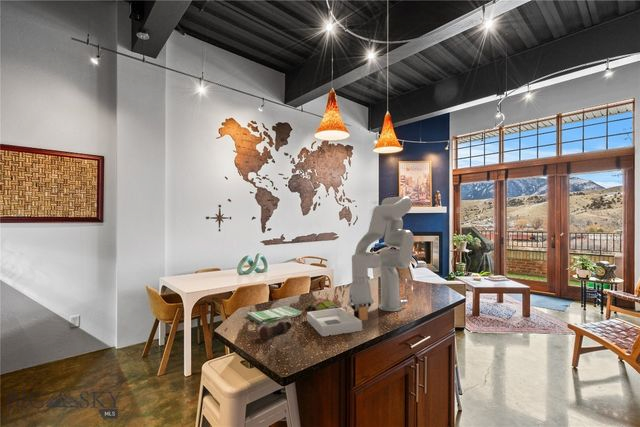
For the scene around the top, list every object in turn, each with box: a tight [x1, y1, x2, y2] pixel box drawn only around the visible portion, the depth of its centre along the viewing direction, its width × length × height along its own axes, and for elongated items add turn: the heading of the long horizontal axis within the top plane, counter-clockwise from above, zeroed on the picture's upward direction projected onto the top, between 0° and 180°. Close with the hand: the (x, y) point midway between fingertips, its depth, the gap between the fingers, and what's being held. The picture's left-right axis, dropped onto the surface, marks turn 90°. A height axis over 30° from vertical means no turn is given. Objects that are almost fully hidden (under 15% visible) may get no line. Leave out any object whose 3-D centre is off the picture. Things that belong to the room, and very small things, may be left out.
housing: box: [306, 307, 363, 338], centre depth 134 cm, size 18×22×4 cm
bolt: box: [258, 321, 292, 342], centre depth 125 cm, size 6×5×15 cm
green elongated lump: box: [306, 297, 341, 311], centre depth 157 cm, size 12×7×25 cm
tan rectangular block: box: [358, 304, 369, 322], centre depth 143 cm, size 4×6×8 cm, turn 19°
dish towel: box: [246, 305, 303, 326], centre depth 151 cm, size 18×23×3 cm
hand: (361, 317), depth 143 cm, fingers closed on tan rectangular block, 3 cm apart
